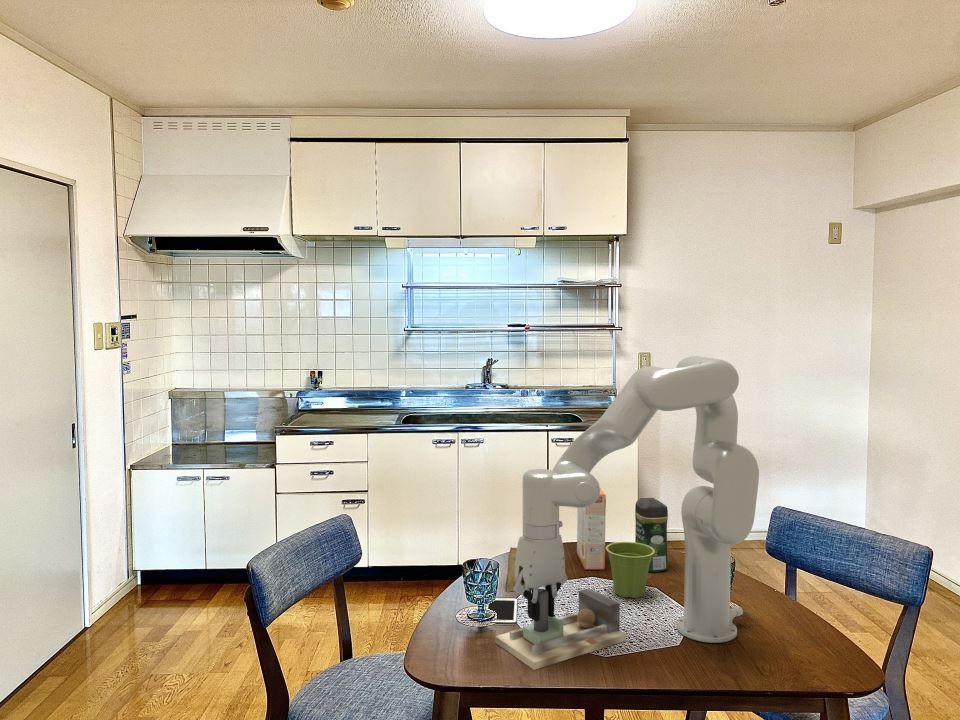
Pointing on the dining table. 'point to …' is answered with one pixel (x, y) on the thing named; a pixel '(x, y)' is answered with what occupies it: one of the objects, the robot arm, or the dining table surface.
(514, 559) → the rock
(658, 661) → the dining table surface
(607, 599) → the press frame
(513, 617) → the cell phone
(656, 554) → the coffee jar
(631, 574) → the plant pot
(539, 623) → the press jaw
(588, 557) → the cracker box
